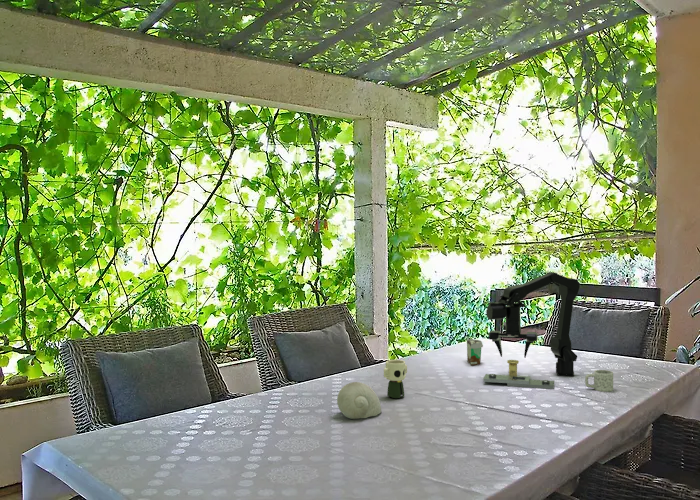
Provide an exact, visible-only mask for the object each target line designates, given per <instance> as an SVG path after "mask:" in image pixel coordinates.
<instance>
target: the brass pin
mask: <svg viewBox="0 0 700 500" xmlns="http://www.w3.org/2000/svg"><path fill="white" fill-rule="evenodd" d="M506 362H507V363H506V364H508V375H511V376H518V364H519V362H520V361H519V360H517V359H507V360H506Z"/></svg>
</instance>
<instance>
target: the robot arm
mask: <svg viewBox="0 0 700 500" xmlns="http://www.w3.org/2000/svg"><path fill="white" fill-rule="evenodd" d="M551 284H553V285H555V286H557V287H558V293H559V297H560V307H559V314H558V315H559V316H558V320H557V321H558V322H557V330H556V334H555V336H551V337H550V344H549V347H550V351H551V353H552V354H553V356H554V358H555V359H557V361H556V362H555V373H556V375H557V376H561V377H562V376H563V377H574V376H575V372H574V371H575V370H574V362H576V361H577V359H578V355H577V354H576V353H575V352H574V351H573V350H572V349H573V348H572V347H573V346H572V345H573V344H572V341H571V337H570V330H571V323H572V317H573V316H572V315H573V309H574V308H573V307H574V301H575V300H576V298H577V296H578V295H579V292H580V288H581V283H580V281H579V280H578V279H576V278H571V277H566V276H563V275H561V274H559V273H557V272H553V271H549V272H548V271H547V272H546V273H545V274H543V275H540V276H538V277H536V278H534V279H532V280H529V281H526V282H525V283H522V284H515V285H511V286H510V285H509V286H507V287H505V288H504V289H503V290H504V291H503V292H502V293H503V294H502V295H501V297H500V299H499V300H498V302H488V306H487V307H486V311H485V313H486V317H487V319H488V320H489V321H491V320H503V319H505V322H504V321H503V325H502V329H503V331H505V332H501V331H500V330H491V331H489V333H488V340H491V342H494V343H495V346H496V347H497V350H498V352H499V356H500V357H502V358H503V348H502V347H503V346H502V340H501V338H502V339H504V338H505V339H524V340H525V339H526V340H525V346H524V354H523V355H524V359H526V357H527V354H528V351H529V348H530V346H531V344H534V342H537V341H538V332H537V331H527V332H526V333H522V326H521V308H525V307H526V305H525V304H524V303H523V302H522V300H523V299H525V298H526V297H527V296H528V295H529V294H531V293H533V292H535V291H538V290H540V289H542V288H544V287H546V286H549V285H551Z"/></svg>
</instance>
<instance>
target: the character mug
mask: <svg viewBox="0 0 700 500" xmlns="http://www.w3.org/2000/svg"><path fill="white" fill-rule="evenodd" d="M407 373H408V365H407V364H406V361H404V360H403V359H402V360H401V359H389V360H386V361H385V368H383V378H386V380H388V381H389V382H388V384H387V392H386V393H387V396H388V397H390V398H391V399H400V398H401V396H402V398H404V397H405V389H404V383H403V381H405V379H406V375H407Z"/></svg>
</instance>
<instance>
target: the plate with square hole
mask: <svg viewBox="0 0 700 500" xmlns="http://www.w3.org/2000/svg"><path fill="white" fill-rule="evenodd" d="M483 382H484V383H496V384H497V383H500V384H501V383H502V384H507V385H506V386H507V387H514V388H516V387H517V388H527V389H528V388H529V389H530V388H531V389H546V390H555V380H548V379H542V380H541V379H531V376H527V375H517V376H511V375H509V374H508V375H506V374H496V373H486V374H485V375H484V377H483Z"/></svg>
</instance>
